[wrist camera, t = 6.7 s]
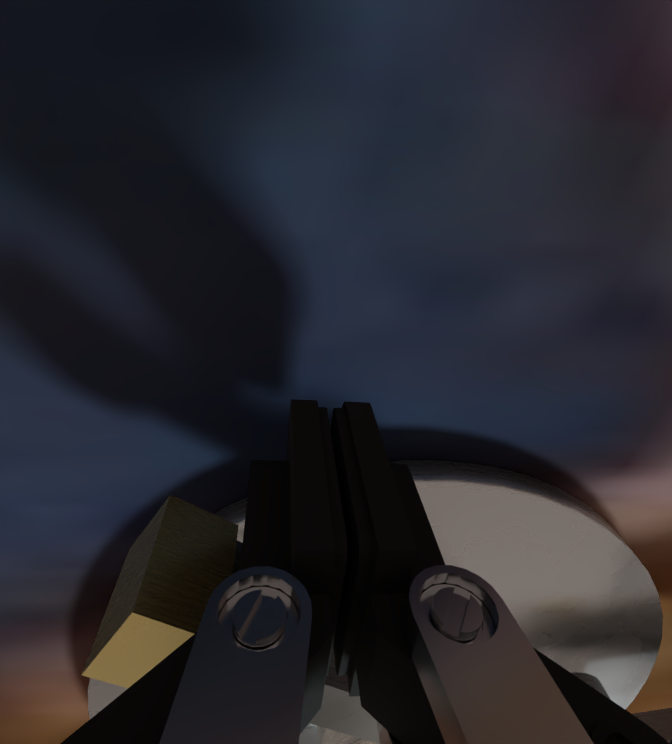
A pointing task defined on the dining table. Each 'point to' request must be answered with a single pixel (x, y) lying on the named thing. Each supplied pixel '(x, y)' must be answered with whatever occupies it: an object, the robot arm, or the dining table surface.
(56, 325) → the dining table surface
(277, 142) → the dining table surface
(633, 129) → the dining table surface
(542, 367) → the dining table surface
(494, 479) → the tribrach plate
